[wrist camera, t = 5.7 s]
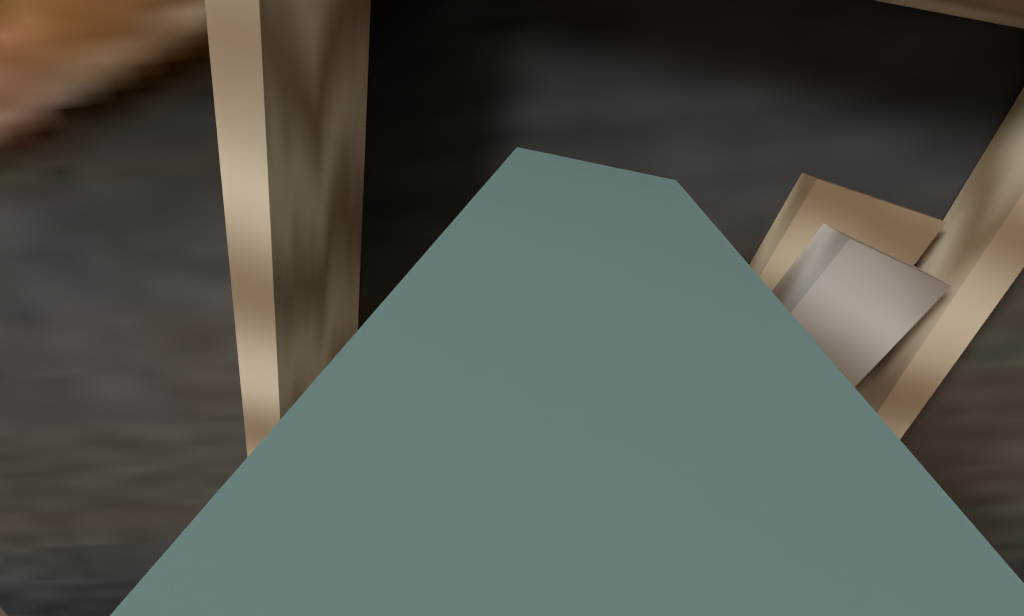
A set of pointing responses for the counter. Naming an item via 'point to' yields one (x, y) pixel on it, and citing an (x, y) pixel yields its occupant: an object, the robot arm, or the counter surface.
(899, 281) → the offcut upper
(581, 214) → the teal rectangular block
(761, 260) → the offcut lower
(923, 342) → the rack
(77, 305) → the counter surface
